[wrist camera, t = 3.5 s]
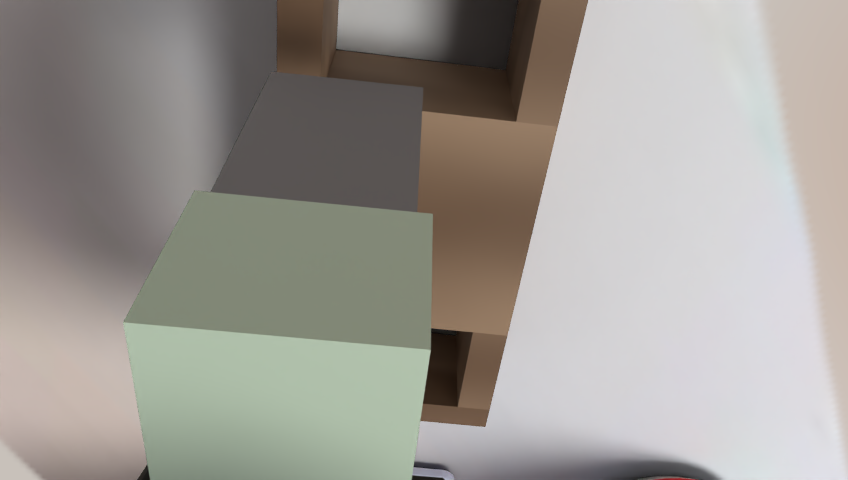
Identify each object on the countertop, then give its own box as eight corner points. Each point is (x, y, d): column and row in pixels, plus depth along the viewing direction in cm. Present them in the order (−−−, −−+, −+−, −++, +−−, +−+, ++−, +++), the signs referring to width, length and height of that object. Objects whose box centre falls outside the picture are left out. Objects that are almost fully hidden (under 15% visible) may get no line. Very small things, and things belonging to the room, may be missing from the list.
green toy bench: (389, 463, 18) (368, 766, 13) (269, 454, 18) (197, 755, 13) (435, 88, 13) (430, 349, 7) (259, 70, 12) (123, 322, 7)
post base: (480, 354, 24) (485, 427, 21) (292, 336, 23) (275, 407, 21) (573, -76, 16) (598, -43, 14) (302, -111, 16) (277, -84, 13)
